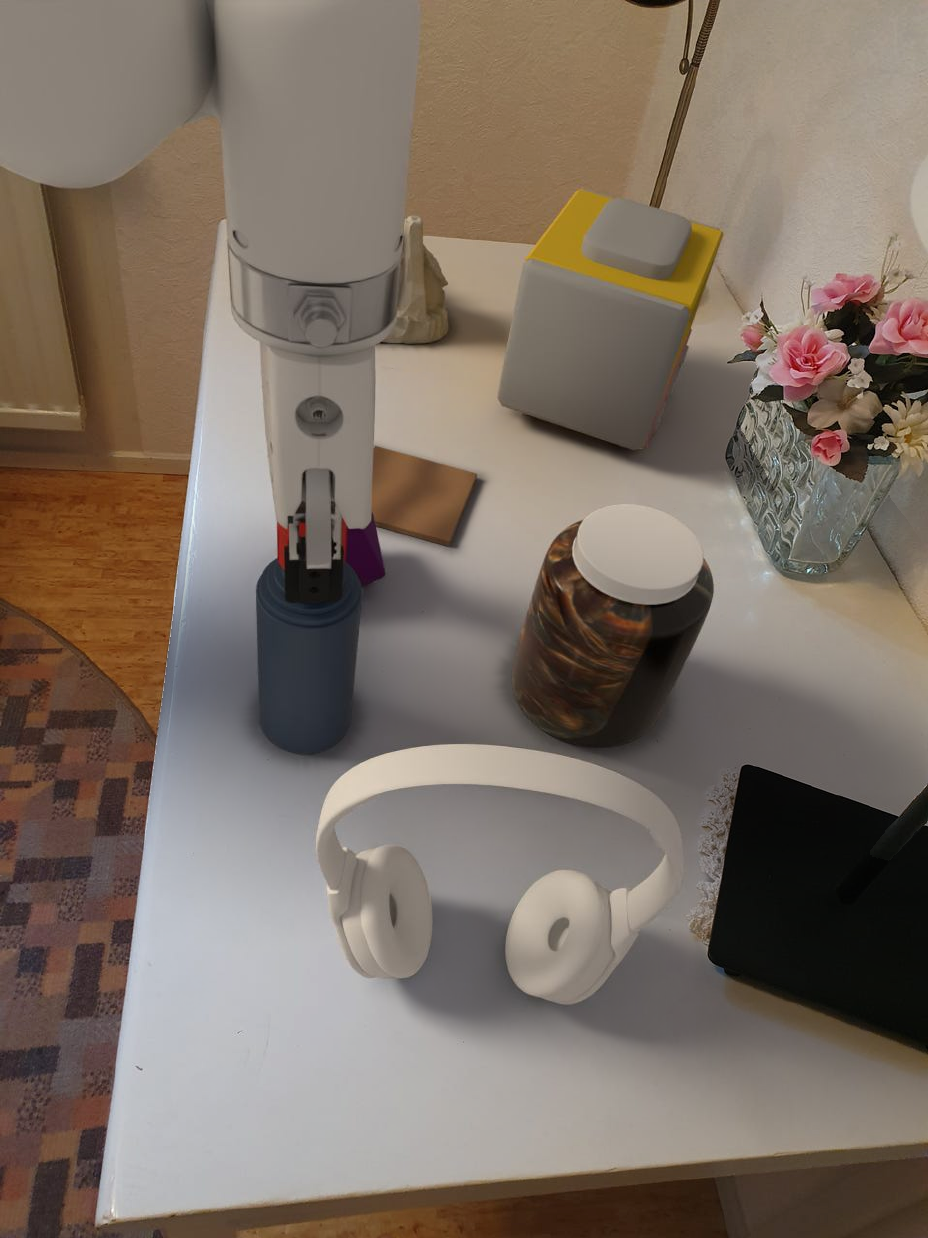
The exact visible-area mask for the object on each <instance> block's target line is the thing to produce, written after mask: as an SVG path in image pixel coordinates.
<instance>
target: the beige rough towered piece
mask: <svg viewBox="0 0 928 1238" xmlns="http://www.w3.org/2000/svg"><path fill="white" fill-rule="evenodd" d="M437 259H438V258H436V257H435V256H434V254H433V253H432V252H431V251H430V250H429V249H427V247H426V246H425V244H424V221H423V219H422V218H421V217H420V216H418V215H411V214H410V215H409V216H407V217H406V216H405V223H404V235H403V247H402V257H401V269H400V280H399V292H398V304H397V319H396V324H395V327H394V329H393V331H392V332H391V334H390V335H389V336H388V337H387V338H386V339H384V340H383V341H381V342H382V343H387V344H403V343H404V344H412V345H416V344H427V343H430V344H431V343H434V342H437V341H439V340H441V339H442V338H444V337H445V336H446V335H447V334H448V332H449V329H450V327H449V322H448V309H447V304H446V292H445V290H444V288H445V287H446V286H447V285H449V281H448V280H446V276H444V274H443V271H442V268H441V265H440V263H439V262H438V260H437Z"/></svg>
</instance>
